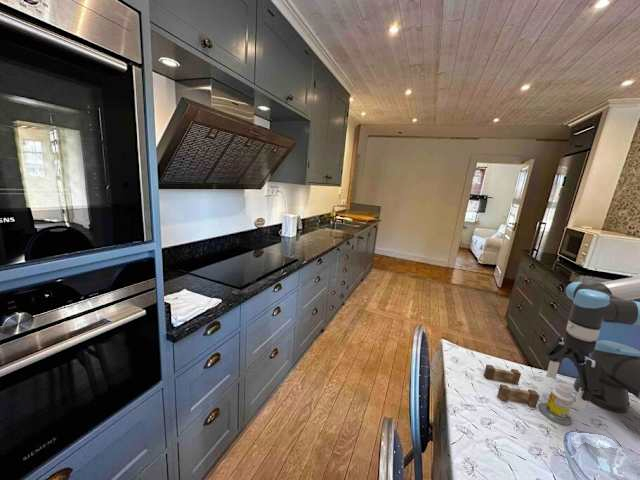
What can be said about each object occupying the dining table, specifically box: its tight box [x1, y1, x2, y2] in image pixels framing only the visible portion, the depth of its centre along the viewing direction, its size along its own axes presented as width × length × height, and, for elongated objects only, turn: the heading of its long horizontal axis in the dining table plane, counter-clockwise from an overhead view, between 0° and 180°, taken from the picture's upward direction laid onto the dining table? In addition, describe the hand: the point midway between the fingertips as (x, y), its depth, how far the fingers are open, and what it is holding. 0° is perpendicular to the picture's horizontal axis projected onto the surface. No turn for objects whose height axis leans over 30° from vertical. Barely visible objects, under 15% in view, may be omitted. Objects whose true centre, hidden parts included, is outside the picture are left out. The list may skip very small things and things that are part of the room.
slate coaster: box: [537, 402, 573, 427], centre depth 93 cm, size 9×9×1 cm
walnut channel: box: [483, 363, 540, 409], centre depth 102 cm, size 12×14×5 cm
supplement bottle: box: [546, 384, 574, 419], centre depth 92 cm, size 6×6×10 cm
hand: (564, 390), depth 91 cm, fingers open, 13 cm apart
